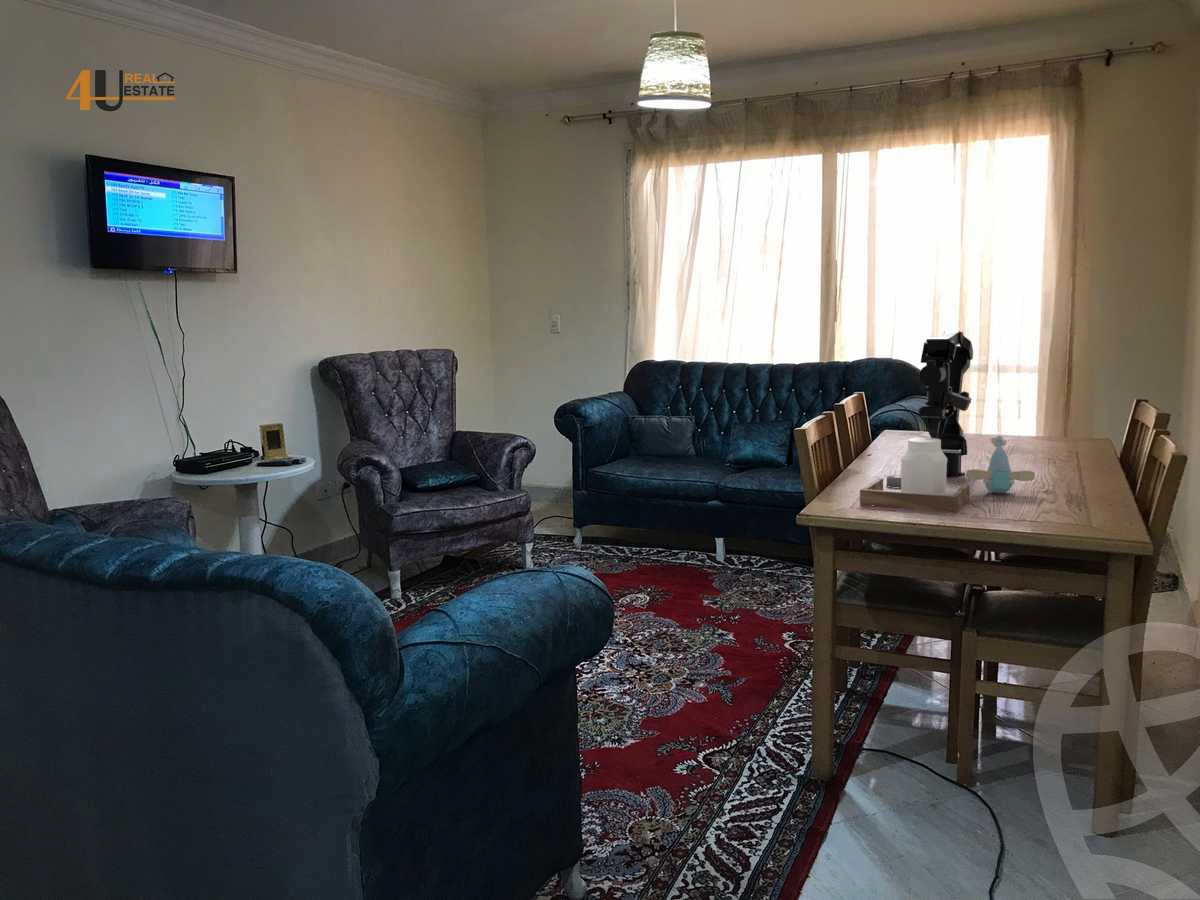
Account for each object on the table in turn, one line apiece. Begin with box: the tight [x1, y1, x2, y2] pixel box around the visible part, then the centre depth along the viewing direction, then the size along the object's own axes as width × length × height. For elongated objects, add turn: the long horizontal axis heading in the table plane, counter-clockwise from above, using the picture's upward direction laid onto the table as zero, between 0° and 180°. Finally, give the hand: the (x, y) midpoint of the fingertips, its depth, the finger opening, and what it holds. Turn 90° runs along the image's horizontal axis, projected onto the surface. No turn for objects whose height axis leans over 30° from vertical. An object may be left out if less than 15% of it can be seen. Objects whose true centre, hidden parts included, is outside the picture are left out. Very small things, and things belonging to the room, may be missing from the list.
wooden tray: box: [859, 477, 971, 514], centre depth 244 cm, size 18×23×4 cm
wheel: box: [886, 474, 901, 488], centre depth 266 cm, size 6×6×3 cm
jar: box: [900, 437, 947, 495], centre depth 251 cm, size 12×10×15 cm
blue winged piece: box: [965, 434, 1036, 494], centre depth 251 cm, size 17×10×15 cm, turn 71°
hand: (937, 439), depth 263 cm, fingers open, 6 cm apart
